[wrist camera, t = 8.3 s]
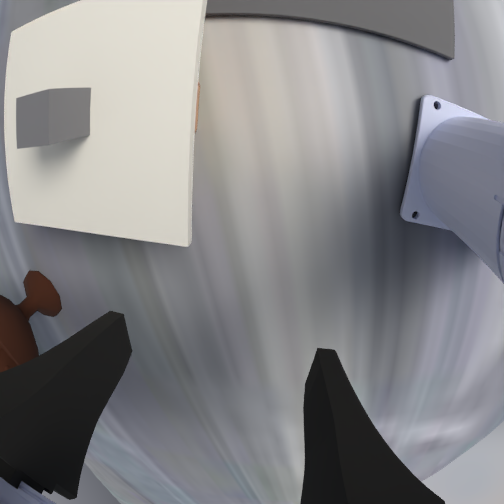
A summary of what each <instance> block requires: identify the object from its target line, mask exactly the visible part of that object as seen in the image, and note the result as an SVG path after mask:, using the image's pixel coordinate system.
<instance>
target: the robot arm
mask: <svg viewBox="0 0 504 504" xmlns="http://www.w3.org/2000/svg"><path fill="white" fill-rule="evenodd" d="M434 102H437V104H438V108H437V109H435V108H434ZM415 211H417V215H416V216H415V217H412V214H413V212H415ZM400 215H401V217H402V218H403V219H404V220H405V221H408V222H413V223H418V224H423V225H428V226H433V227H437V228H442V229H446V230H451V231H453V232H454V233H455V234H456V235H457V236H458V237H459V238H460V239H461V240H462V241H463V242H464V243H465V244H466V245H467V246H468V247H469V248H471V249H472V250H473V251H474V252H475V254H476V255H477V256H478V257H479V258H480V259H481V260H482V261H483V262H484V263H485V264H486V265H487V266H488V267H489V268H490V269H491V270H492V271H493V272H494V273H495V275H496V276H497V277H498V278H499V279H500V280H501V281H502V282H503V283H504V122H499V121H493V120H489V119H487V118H485V117H483V116H481V115H479V114H476V113H474V112H472V111H470V110H467V109H465V108H463V107H460V106H458V105H455V104H453V103H450V102H448V101H445V100H443V99H440V98H437V97H435V96H432V95H424V96H423V97H422V98H421V102H420V111H419V118H418V125H417V131H416V138H415V144H414V149H413V155H412V160H411V165H410V170H409V175H408V180H407V184H406V189H405V193H404V197H403V201H402V205H401V209H400ZM131 353H132V348H131V344H130V340H129V336H128V331H127V327H126V323H125V318H124V314H121V313H117V312H113V311H109V312H108V313H106V314H104V315H103V316H101V317H100V318H98V319H97V320H95V321H94V322H92V323H91V324H89V325H88V326H86V327H85V328H83V329H82V330H80V331H79V332H77V333H76V334H74V335H73V336H71V337H70V338H68V339H67V340H65V341H64V342H62V343H60V344H59V345H57V346H55V347H54V348H52V349H50V350H49V351H47V352H45V353H43V354H42V355H40V356H38V357H36V358H34V359H32V360H30V361H28V362H26V363H23V364H21V365H18V366H16V367H13V368H11V369H8V370H6V371H3V372H0V504H56V503H55V502H53V501H51V500H50V499H48V498H46V497H45V496H43V495H42V492H43V490H45V491H46V492H48V493H49V494H52V492H53V491H55V492H57V493H58V494H60V495H62V496H64V497H66V498H67V499H69V500H70V499H75V498H76V497H77V491H78V486H79V480H80V475H81V471H82V466H83V463H84V459H85V455H86V452H87V449H88V446H89V443H90V440H91V437H92V434H93V432H94V429H95V426H96V424H97V421H98V419H99V417H100V415H101V413H102V411H103V409H104V407H105V406H106V404H107V402H108V400H109V398H110V397H111V395H112V393H113V391H114V389H115V388H116V386H117V384H118V382H119V380H120V379H121V377H122V375H123V373H124V371H125V368H126V366H127V364H128V361H129V358H130V356H131ZM303 409H304V440H305V470H304V480H303V489H302V496H301V504H445V501H444V500H442V499H441V498H440V497H439V496H437V495H436V494H434V492H432V491H431V490H430V489H429V488H427V487H426V486H425V485H424V484H423V483H422V482H421V481H420V480H419V479H418V478H417V477H415V476H414V475H413V474H412V473H411V471H410V470H409V469H408V468H407V467H406V466H405V465H404V464H403V463H402V462H401V460H400V459H399V458H398V457H397V456H396V455H395V454H394V452H393V451H392V450H391V449H390V447H389V446H388V445H387V443H386V442H385V441H384V439H383V438H382V436H381V435H380V434H379V432H378V431H377V429H376V428H375V426H374V425H373V423H372V422H371V420H370V418H369V417H368V415H367V413H366V412H365V410H364V408H363V406H362V405H361V403H360V401H359V399H358V397H357V395H356V393H355V392H354V390H353V388H352V386H351V384H350V382H349V380H348V378H347V375H346V373H345V371H344V369H343V367H342V364H341V362H340V360H339V358H338V355H337V353H336V351H335V350H332V349H322V348H317V351H316V354H315V357H314V360H313V363H312V366H311V369H310V372H309V375H308V377H307V380H306V383H305V394H304V407H303Z"/></svg>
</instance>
